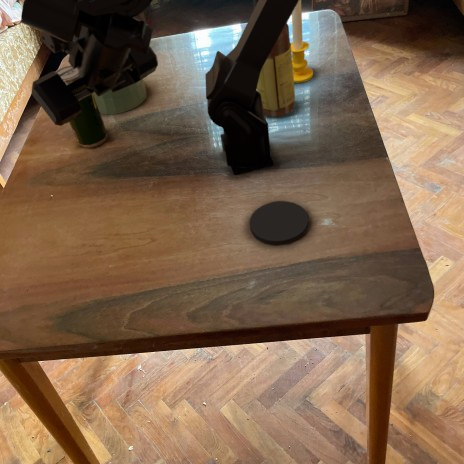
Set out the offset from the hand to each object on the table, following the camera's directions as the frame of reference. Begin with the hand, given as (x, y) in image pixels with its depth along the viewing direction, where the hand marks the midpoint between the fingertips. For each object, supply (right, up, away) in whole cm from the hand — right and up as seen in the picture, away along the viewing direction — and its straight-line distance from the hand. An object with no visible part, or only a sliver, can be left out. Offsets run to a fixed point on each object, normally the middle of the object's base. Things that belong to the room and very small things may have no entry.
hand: (89, 102), depth 83 cm
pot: (+1, +7, +16) cm, 17 cm away
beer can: (-1, -3, +8) cm, 9 cm away
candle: (+35, +10, +13) cm, 38 cm away
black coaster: (+29, -21, -12) cm, 38 cm away
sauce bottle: (+30, +1, +7) cm, 31 cm away
